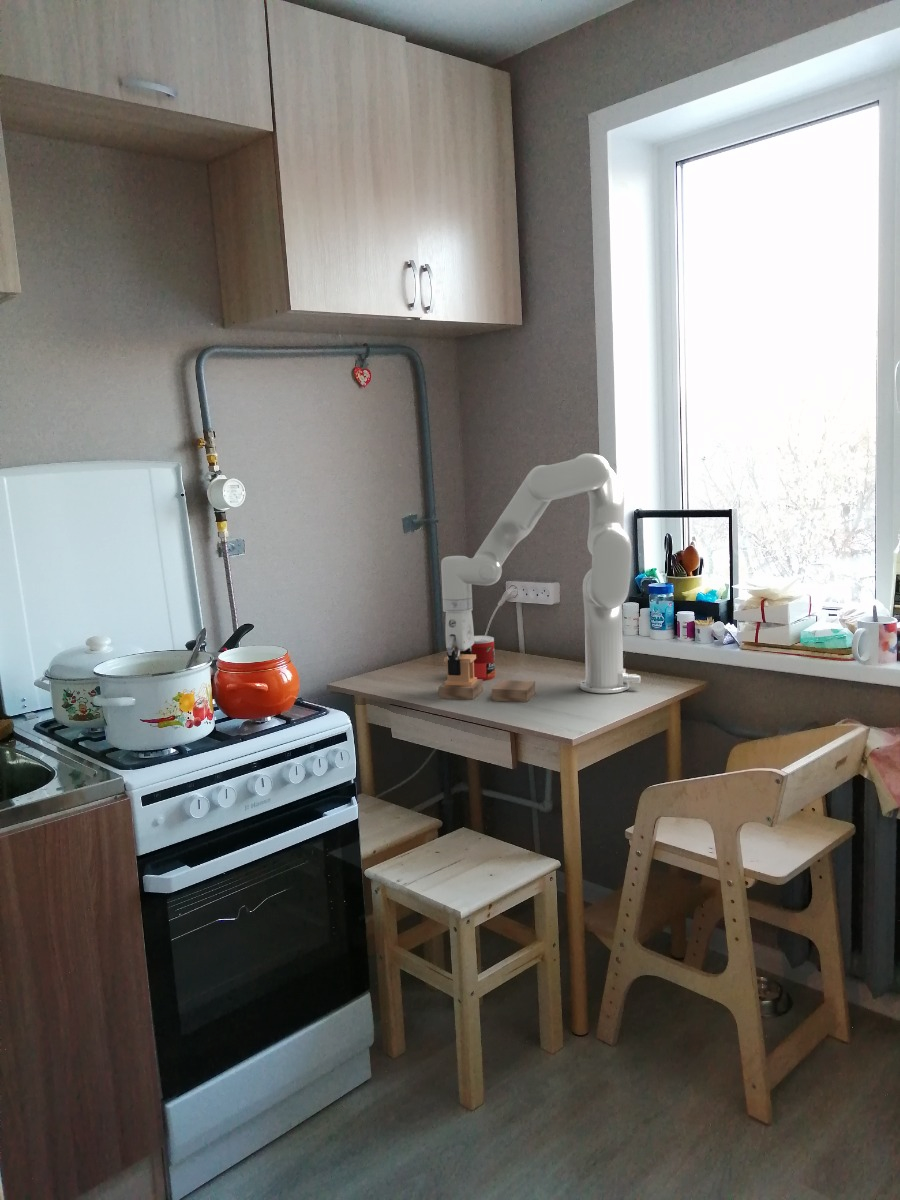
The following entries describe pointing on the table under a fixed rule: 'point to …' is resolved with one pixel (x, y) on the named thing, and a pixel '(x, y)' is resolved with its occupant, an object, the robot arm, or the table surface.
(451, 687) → the stand
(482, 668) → the canned food
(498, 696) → the stand
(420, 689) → the table surface
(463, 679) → the housing
